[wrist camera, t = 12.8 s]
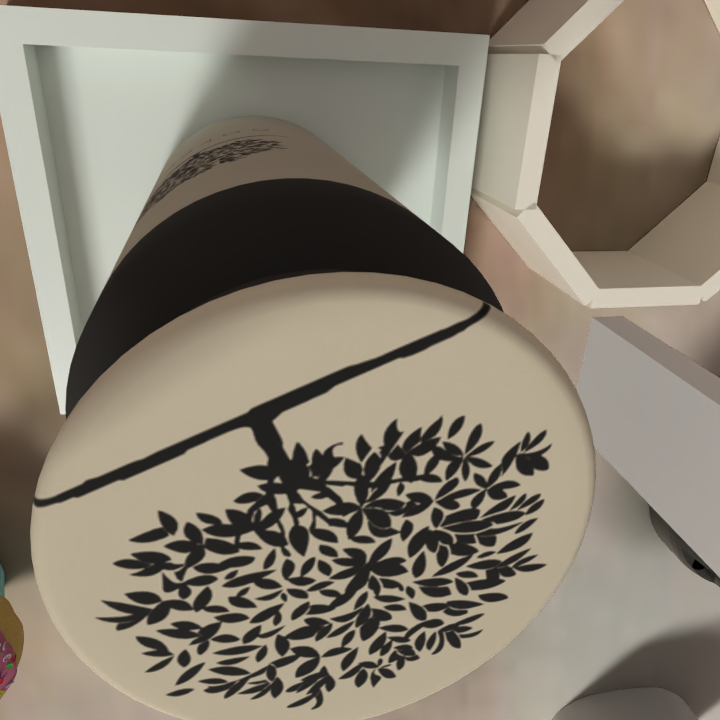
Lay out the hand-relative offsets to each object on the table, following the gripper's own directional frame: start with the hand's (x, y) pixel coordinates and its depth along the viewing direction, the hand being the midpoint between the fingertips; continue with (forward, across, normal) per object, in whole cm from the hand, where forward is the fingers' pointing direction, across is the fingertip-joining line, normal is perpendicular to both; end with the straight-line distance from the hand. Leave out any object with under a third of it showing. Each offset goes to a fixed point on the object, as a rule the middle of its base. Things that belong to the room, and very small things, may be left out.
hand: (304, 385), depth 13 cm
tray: (+14, 0, 0) cm, 14 cm away
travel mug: (+13, 0, 0) cm, 13 cm away
